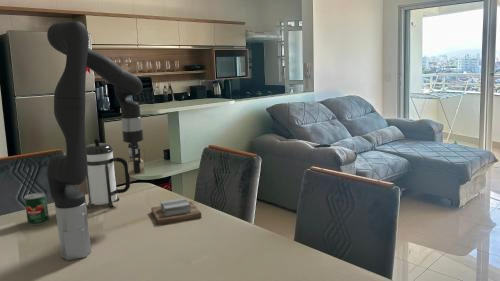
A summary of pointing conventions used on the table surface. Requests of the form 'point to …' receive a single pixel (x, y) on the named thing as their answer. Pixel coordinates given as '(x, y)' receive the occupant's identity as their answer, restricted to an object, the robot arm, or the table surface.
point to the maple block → (131, 167)
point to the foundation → (175, 211)
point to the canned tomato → (36, 208)
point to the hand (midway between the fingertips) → (136, 171)
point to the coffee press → (103, 174)
